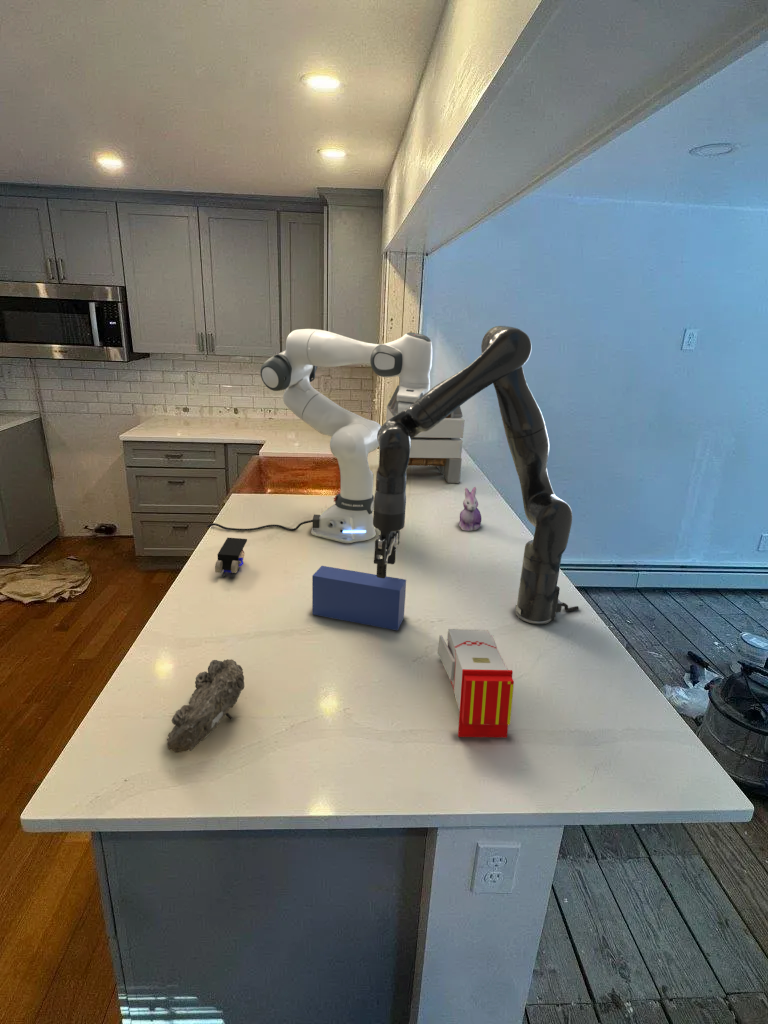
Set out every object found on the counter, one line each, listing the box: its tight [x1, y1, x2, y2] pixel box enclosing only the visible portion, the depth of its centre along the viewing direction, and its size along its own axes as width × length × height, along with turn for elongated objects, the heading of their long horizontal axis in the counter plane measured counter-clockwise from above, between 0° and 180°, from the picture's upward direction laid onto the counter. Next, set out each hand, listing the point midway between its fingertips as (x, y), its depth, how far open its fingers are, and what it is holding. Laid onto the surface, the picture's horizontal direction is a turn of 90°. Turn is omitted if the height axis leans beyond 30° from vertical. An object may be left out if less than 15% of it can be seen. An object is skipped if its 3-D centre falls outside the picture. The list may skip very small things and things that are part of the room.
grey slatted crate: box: [385, 384, 465, 484], centre depth 268 cm, size 34×33×41 cm
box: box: [311, 565, 407, 631], centre depth 144 cm, size 23×6×11 cm, turn 74°
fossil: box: [166, 658, 245, 754], centre depth 106 cm, size 22×10×15 cm
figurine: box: [458, 486, 482, 532], centre depth 206 cm, size 9×10×15 cm
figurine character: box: [214, 537, 248, 578], centre depth 166 cm, size 7×8×15 cm
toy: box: [437, 628, 515, 738], centre depth 117 cm, size 12×13×30 cm
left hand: (410, 439), depth 169 cm, fingers open, 8 cm apart
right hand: (386, 570), depth 139 cm, fingers open, 8 cm apart
